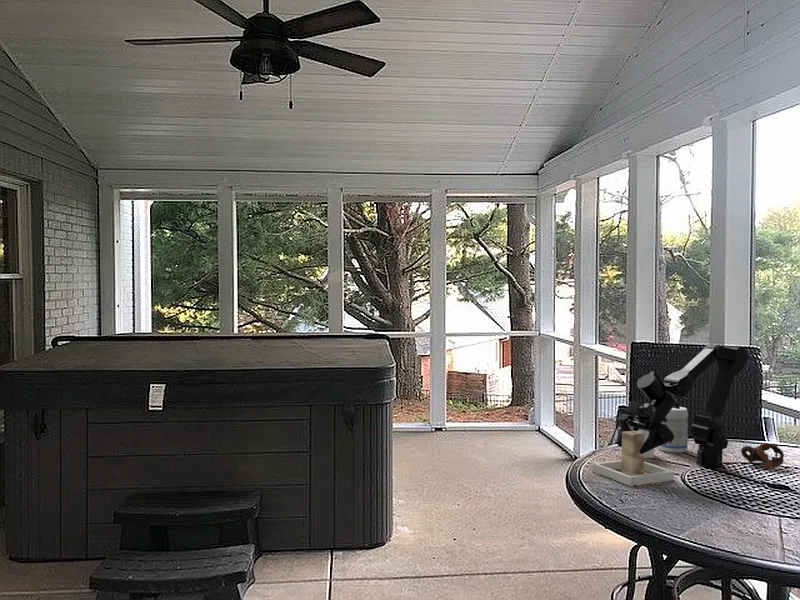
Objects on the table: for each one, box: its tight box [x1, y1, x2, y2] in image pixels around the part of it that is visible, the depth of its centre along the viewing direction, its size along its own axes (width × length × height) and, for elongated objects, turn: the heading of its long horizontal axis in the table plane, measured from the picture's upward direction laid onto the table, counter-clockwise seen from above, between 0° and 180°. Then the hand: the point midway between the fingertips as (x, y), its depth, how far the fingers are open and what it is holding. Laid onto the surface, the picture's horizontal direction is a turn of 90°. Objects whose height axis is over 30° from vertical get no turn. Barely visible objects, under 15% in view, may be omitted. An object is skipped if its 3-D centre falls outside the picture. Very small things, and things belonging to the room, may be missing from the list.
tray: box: [592, 459, 675, 487], centre depth 207 cm, size 16×16×2 cm
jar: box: [633, 417, 655, 459], centre depth 231 cm, size 9×8×12 cm
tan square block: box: [620, 431, 645, 476], centre depth 206 cm, size 4×4×13 cm
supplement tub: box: [657, 406, 689, 454], centre depth 238 cm, size 10×10×15 cm
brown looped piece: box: [740, 442, 785, 471], centre depth 219 cm, size 12×10×8 cm
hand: (629, 449), depth 206 cm, fingers open, 9 cm apart
